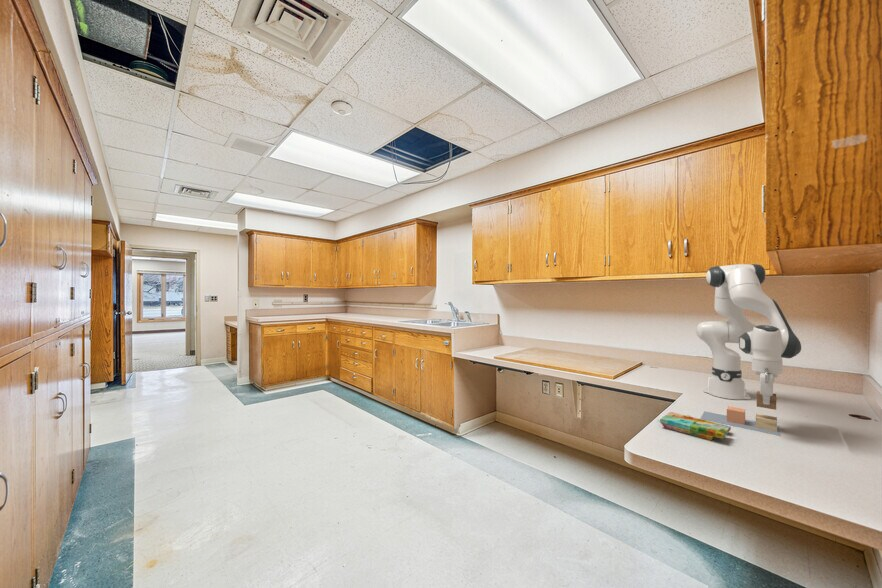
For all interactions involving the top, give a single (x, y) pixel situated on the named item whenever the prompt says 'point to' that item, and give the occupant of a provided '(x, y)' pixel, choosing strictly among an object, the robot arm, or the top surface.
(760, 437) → the top surface
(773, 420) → the oak brick
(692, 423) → the puzzle game
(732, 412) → the terracotta block
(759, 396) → the walnut block
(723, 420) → the baseplate
